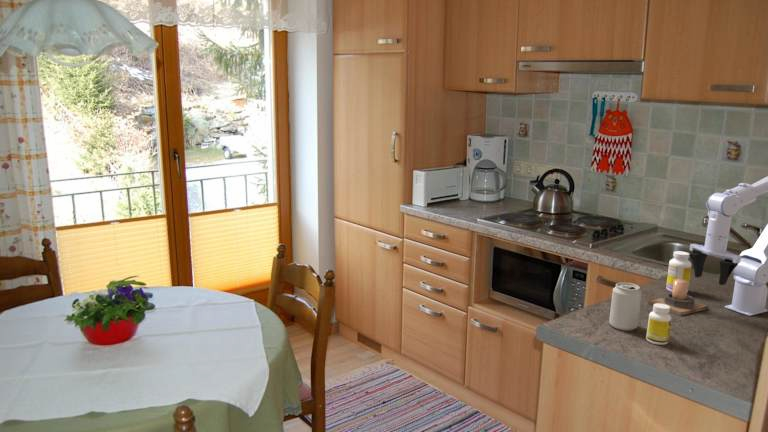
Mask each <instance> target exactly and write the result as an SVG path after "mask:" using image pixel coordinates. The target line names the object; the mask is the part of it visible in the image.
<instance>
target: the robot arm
mask: <svg viewBox="0 0 768 432" xmlns="http://www.w3.org/2000/svg"><path fill="white" fill-rule="evenodd" d="M765 193H768V175H767V176H766V177H764V178H763V177H762V179H759V180H758V181H756V182H754V183H752V184H750V183H746V182H745V183H744V182H740V183H738V185H737V186H736V187H733V188H730V189H726V190H725V191H724V192H715V193H713V194H711V195H710V196H709V197H708V199H707V201H706V202H705V207H706V210H707V216H708V221H707V228H706V233H705V241H704V245H702V244H697V243H690V244H689V252H690V251H691V252H690V253H689V254H690V255H689V258H690V259H691V261H692V266H693V269H694V276H695V278H701V277H702V275H703V272H704V271H703V270H704V265H705V262H706V259H707V257H708V256H711V257H715V258H718V259H721V260H719V266H720V267H719V269H720V270H719V271H720V274H719V281H718V284H719V285H721V286H723V285H727V281H728V279H729V277H730V275H731V274H732V275H733V280H735V281H734V285H733V286H734V287H733V293H732V301H731V304H728V305H727V304H726V305H725V306H724V308H725V309H728V310H731V311H733V312H737V313H740V314H742V315H745V316H749V317H753V316H755V315H758V314H763V313H766V312H768V309H767V308H766V304H767V301H768V300H767V299H768V287H767V283H768V223H767V224H766V226H765V227H764V229H763V230H762V232H761V234H759V237H758V238H757V240H756V242H754V245H753V246H752V247H751V248H749V249H745V250H743V251H740V252H741V253H740V254H739V255H738V254H735V253H733V252H730V251H728V250H727V248H728V242H729V237H730V230H731V224H732V219H733V218H732V217H733V216H734V215H735V214H737V212H739V211H738V210H739V209H741V208H742V207H744V206H747V205H749V204H751V203H753V202H755V201H756V200H757V197H758V196H760V195H763V194H765Z"/></svg>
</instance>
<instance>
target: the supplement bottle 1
mask: <svg viewBox="0 0 768 432" xmlns="http://www.w3.org/2000/svg"><path fill="white" fill-rule="evenodd" d="M669 313H671V312H670V306H668V305H665V304H660V303H656V304H654V305H652V311H650V313H649V314H648V320H647V321H648V322H647V328H646V335H645V340H646V341H647V342H648V343H650V344H654V345H657V346H658V345H659V346H660V345H661V346H665V345H667V344H668V343H669V338H670V331H671V323H672V316H671V314H669Z"/></svg>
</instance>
